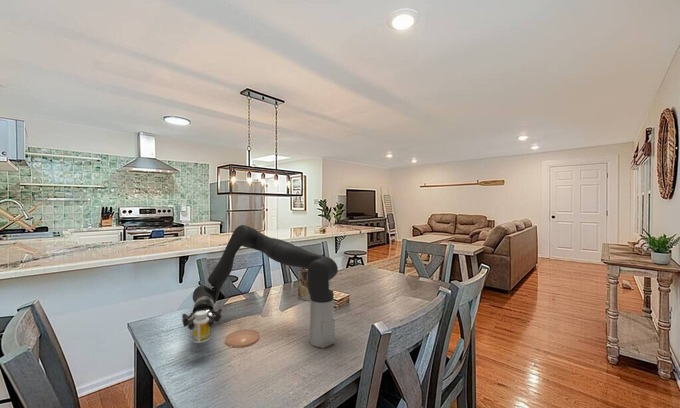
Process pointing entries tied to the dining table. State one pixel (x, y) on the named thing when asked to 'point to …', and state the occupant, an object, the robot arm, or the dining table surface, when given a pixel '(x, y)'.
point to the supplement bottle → (201, 327)
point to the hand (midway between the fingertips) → (200, 325)
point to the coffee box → (303, 285)
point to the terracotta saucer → (242, 338)
